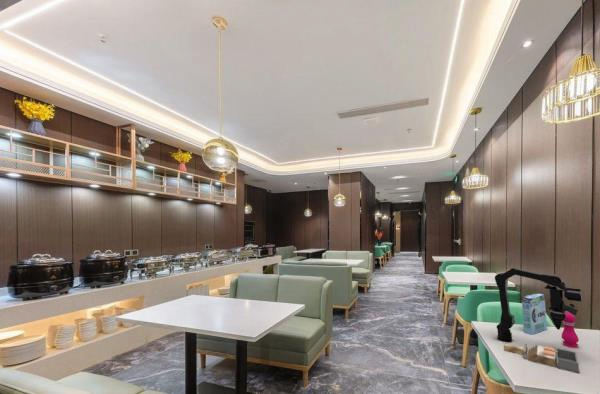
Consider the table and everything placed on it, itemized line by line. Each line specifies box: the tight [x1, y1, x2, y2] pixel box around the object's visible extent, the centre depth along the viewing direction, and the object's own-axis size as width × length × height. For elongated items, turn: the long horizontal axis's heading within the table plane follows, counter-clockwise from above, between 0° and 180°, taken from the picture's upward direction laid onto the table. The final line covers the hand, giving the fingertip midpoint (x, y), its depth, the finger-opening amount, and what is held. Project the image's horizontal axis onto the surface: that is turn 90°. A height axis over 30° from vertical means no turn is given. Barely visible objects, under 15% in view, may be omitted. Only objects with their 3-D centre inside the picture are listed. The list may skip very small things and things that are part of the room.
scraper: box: [503, 343, 529, 360], centre depth 157 cm, size 10×12×4 cm
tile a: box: [544, 350, 556, 358], centre depth 146 cm, size 4×4×1 cm
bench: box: [527, 345, 557, 368], centre depth 150 cm, size 11×14×4 cm
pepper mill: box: [561, 311, 579, 349], centre depth 166 cm, size 7×7×20 cm
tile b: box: [543, 345, 555, 352], centre depth 150 cm, size 4×4×1 cm
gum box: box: [521, 292, 548, 336], centre depth 189 cm, size 20×5×23 cm, turn 116°
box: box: [555, 348, 580, 374], centre depth 144 cm, size 8×15×4 cm, turn 139°
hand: (557, 327), depth 157 cm, fingers open, 9 cm apart
